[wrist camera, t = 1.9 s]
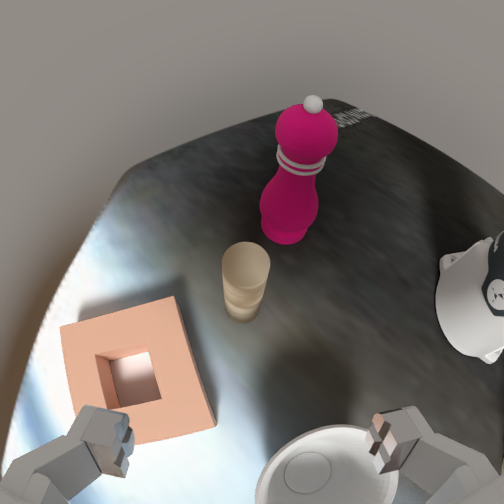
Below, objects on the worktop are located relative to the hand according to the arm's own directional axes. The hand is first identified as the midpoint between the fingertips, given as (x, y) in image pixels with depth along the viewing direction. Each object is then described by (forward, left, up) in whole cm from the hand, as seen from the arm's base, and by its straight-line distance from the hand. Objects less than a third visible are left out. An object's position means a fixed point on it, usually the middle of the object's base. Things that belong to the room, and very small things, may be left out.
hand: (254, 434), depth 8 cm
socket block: (+10, -7, -23) cm, 26 cm away
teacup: (-4, +10, -23) cm, 26 cm away
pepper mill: (-13, -21, -23) cm, 34 cm away
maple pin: (-4, -12, -23) cm, 26 cm away
